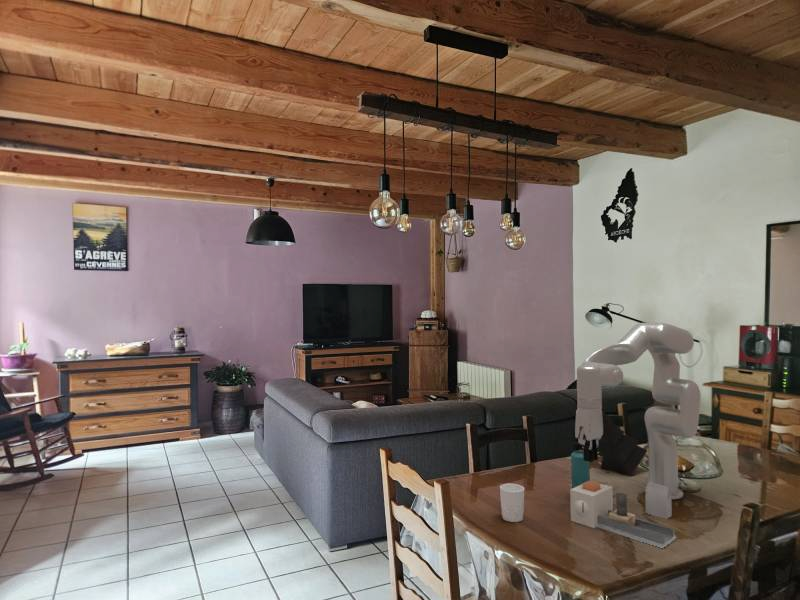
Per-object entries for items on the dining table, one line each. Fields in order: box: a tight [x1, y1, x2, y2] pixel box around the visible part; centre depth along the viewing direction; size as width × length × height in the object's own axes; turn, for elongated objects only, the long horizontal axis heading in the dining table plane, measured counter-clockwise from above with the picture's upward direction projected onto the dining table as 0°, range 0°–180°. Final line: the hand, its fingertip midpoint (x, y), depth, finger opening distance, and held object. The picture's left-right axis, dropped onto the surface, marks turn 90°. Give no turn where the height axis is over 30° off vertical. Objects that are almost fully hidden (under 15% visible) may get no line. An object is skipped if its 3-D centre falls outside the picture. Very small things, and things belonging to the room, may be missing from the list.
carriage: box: [609, 492, 636, 526], centre depth 160 cm, size 5×6×9 cm
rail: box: [596, 510, 677, 549], centre depth 157 cm, size 9×20×3 cm, turn 41°
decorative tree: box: [598, 411, 648, 477], centre depth 214 cm, size 15×15×35 cm
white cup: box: [499, 483, 525, 523], centre depth 170 cm, size 8×8×10 cm
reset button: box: [582, 480, 601, 492], centre depth 168 cm, size 4×4×4 cm
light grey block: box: [644, 481, 673, 520], centre depth 170 cm, size 4×7×10 cm, turn 39°
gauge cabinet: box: [569, 483, 614, 529], centre depth 167 cm, size 12×8×10 cm, turn 131°
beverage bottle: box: [570, 441, 591, 489], centre depth 186 cm, size 6×7×20 cm
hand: (590, 459), depth 168 cm, fingers closed
